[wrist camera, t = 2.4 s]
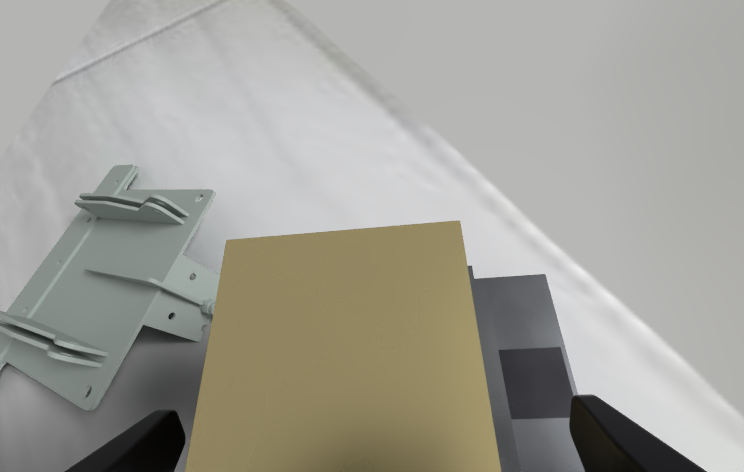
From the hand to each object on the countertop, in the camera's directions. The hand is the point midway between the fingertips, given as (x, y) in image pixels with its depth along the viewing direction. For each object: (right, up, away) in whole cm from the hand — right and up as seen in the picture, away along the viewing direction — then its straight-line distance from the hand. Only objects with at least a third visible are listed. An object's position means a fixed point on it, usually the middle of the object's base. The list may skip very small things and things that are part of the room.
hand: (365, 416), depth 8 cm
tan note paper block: (+1, -2, +6) cm, 6 cm away
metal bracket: (-15, +1, +13) cm, 20 cm away
